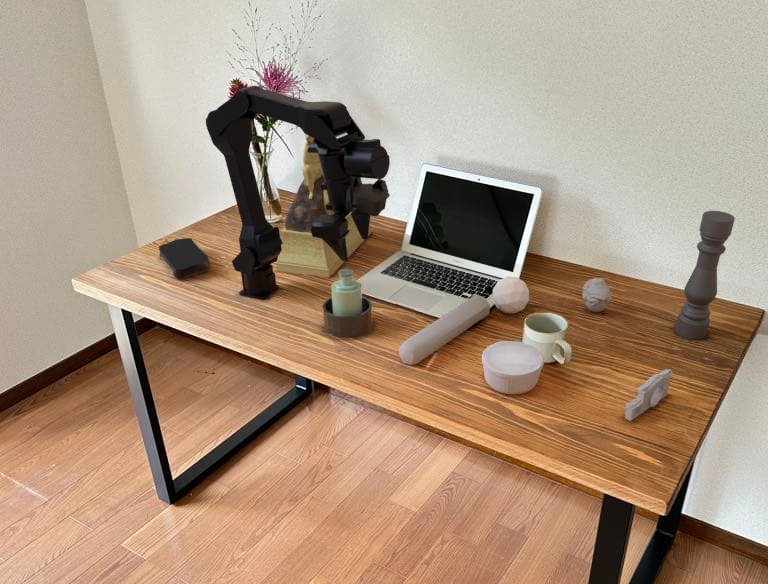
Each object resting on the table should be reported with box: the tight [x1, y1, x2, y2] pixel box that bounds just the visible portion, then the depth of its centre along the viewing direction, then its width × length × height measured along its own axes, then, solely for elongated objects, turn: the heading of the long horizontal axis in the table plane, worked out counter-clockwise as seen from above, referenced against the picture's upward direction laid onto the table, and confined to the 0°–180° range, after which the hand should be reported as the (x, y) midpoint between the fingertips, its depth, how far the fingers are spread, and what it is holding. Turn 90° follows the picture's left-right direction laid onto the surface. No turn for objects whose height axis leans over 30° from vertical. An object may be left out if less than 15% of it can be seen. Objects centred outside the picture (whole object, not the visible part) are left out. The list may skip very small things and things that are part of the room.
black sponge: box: [158, 237, 211, 280], centre depth 171 cm, size 16×8×4 cm, turn 33°
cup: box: [321, 295, 373, 339], centre depth 148 cm, size 10×10×5 cm
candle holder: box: [674, 210, 736, 340], centre depth 143 cm, size 6×6×25 cm
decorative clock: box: [276, 133, 372, 278], centre depth 172 cm, size 28×13×30 cm, turn 164°
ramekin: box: [481, 340, 545, 395], centre depth 132 cm, size 11×11×5 cm
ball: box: [492, 276, 530, 314], centre depth 154 cm, size 8×8×8 cm
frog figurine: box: [581, 277, 612, 313], centre depth 155 cm, size 6×7×7 cm
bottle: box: [330, 268, 363, 316], centre depth 145 cm, size 6×6×12 cm
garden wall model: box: [624, 368, 674, 422], centre depth 125 cm, size 12×2×6 cm, turn 133°
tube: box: [398, 293, 491, 366], centre depth 144 cm, size 5×5×25 cm
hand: (355, 249), depth 144 cm, fingers open, 9 cm apart
